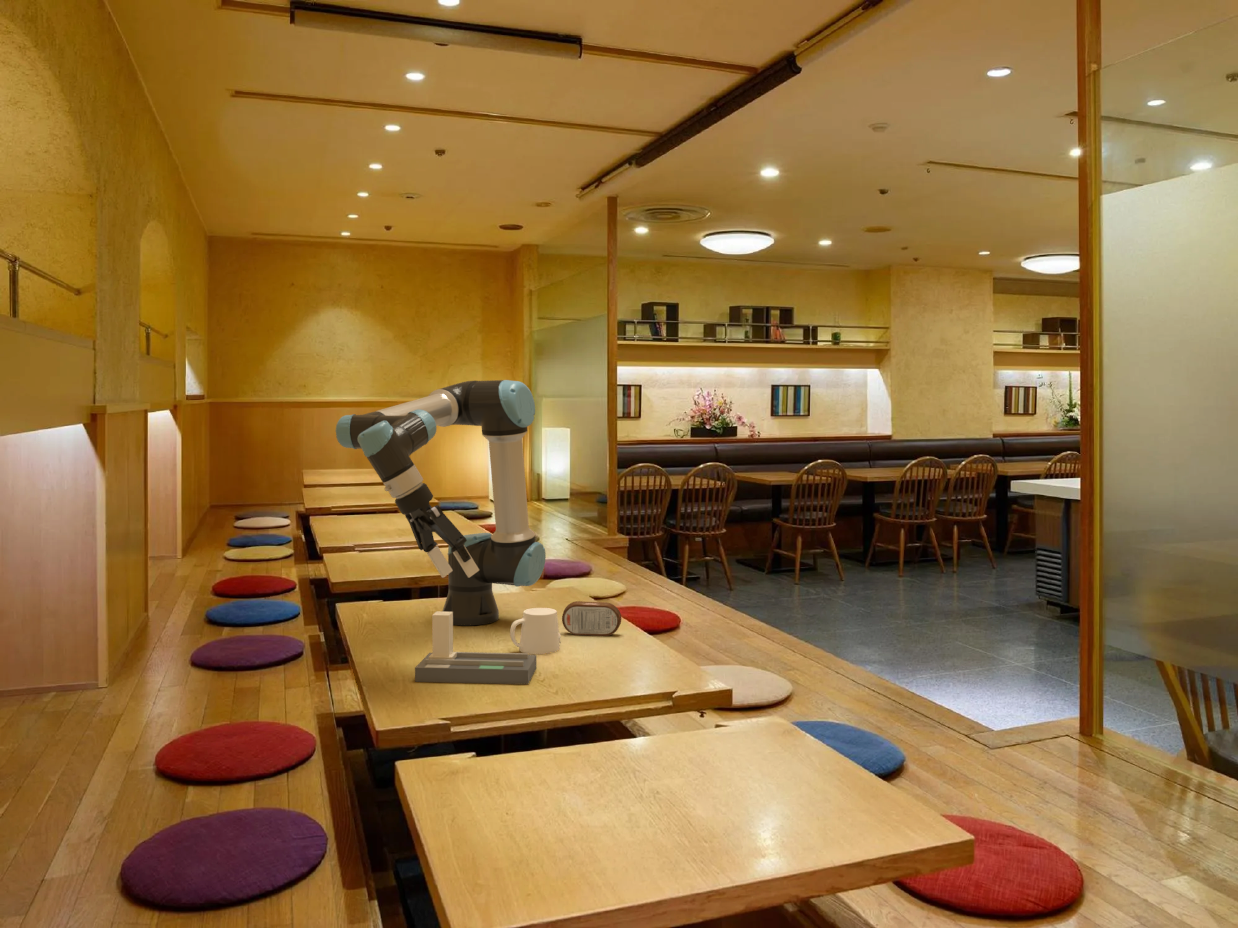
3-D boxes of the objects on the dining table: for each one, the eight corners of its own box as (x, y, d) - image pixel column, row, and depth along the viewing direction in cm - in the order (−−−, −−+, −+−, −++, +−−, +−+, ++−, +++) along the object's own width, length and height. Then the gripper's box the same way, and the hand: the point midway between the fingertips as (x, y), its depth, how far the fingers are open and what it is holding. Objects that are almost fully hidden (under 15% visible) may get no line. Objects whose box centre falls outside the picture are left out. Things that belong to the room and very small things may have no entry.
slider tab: (434, 655, 208) (433, 610, 207) (456, 656, 208) (456, 611, 207) (428, 661, 203) (428, 615, 203) (452, 661, 203) (451, 615, 202)
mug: (552, 606, 231) (564, 612, 224) (552, 643, 232) (564, 651, 225) (505, 610, 226) (516, 617, 219) (505, 649, 227) (516, 657, 220)
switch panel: (429, 665, 212) (429, 648, 212) (536, 668, 211) (536, 650, 210) (415, 681, 200) (414, 662, 200) (528, 684, 199) (528, 665, 198)
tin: (621, 634, 242) (621, 601, 241) (620, 637, 239) (620, 604, 238) (562, 632, 243) (563, 600, 243) (561, 635, 240) (561, 602, 239)
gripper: (374, 504, 209) (424, 583, 213) (417, 495, 188) (471, 584, 193) (401, 486, 213) (450, 564, 217) (446, 476, 192) (499, 563, 197)
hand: (460, 574), depth 205 cm, fingers open, 13 cm apart
